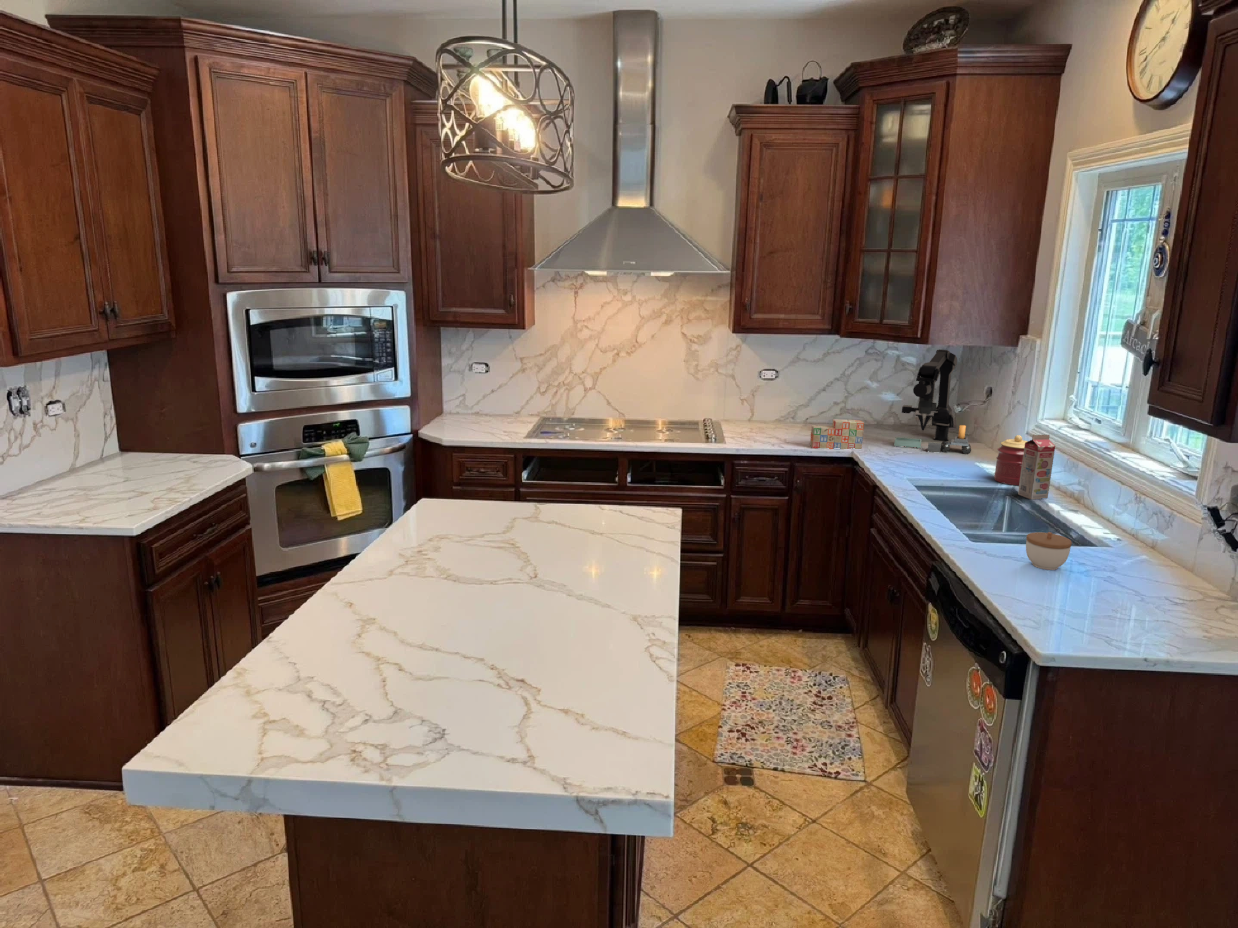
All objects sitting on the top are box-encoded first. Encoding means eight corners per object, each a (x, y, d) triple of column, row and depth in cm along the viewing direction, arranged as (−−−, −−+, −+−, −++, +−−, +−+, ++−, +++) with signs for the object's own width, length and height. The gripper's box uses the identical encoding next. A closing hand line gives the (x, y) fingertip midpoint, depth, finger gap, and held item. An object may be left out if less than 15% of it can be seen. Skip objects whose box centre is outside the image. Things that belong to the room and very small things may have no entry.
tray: (894, 443, 371) (895, 437, 371) (920, 445, 368) (921, 439, 367) (894, 446, 365) (894, 439, 365) (920, 448, 362) (921, 442, 361)
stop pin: (957, 440, 357) (959, 424, 356) (964, 441, 356) (965, 425, 355) (957, 441, 355) (959, 425, 353) (964, 442, 354) (966, 426, 352)
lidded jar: (1018, 566, 220) (1023, 533, 218) (1028, 556, 228) (1032, 523, 226) (1063, 576, 213) (1068, 542, 211) (1071, 565, 222) (1076, 532, 219)
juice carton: (1017, 494, 291) (1026, 433, 286) (1034, 493, 292) (1042, 432, 287) (1031, 499, 285) (1039, 437, 279) (1047, 498, 286) (1056, 436, 281)
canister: (1010, 487, 301) (1017, 439, 296) (985, 478, 313) (991, 432, 308) (1039, 485, 304) (1046, 438, 300) (1014, 476, 316) (1020, 431, 312)
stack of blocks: (812, 448, 358) (814, 421, 355) (809, 445, 364) (811, 418, 361) (861, 450, 357) (864, 422, 354) (858, 447, 363) (861, 419, 360)
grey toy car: (940, 448, 363) (941, 434, 362) (970, 451, 359) (971, 437, 357) (940, 452, 356) (941, 438, 354) (970, 454, 352) (972, 440, 350)
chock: (927, 450, 360) (928, 442, 359) (939, 451, 358) (940, 443, 357) (927, 452, 356) (928, 444, 355) (939, 453, 354) (940, 445, 353)
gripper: (903, 395, 349) (899, 431, 352) (950, 398, 342) (946, 435, 346) (904, 391, 359) (900, 427, 362) (949, 395, 352) (945, 430, 356)
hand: (922, 430), depth 356 cm, fingers closed
